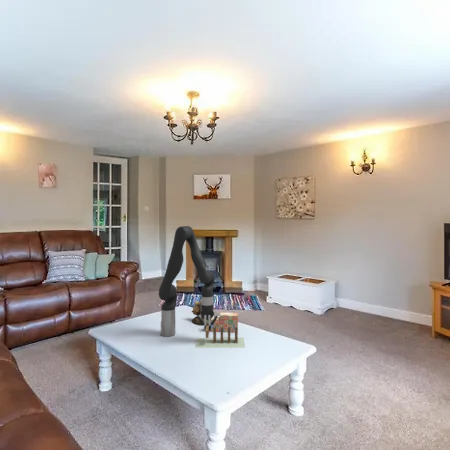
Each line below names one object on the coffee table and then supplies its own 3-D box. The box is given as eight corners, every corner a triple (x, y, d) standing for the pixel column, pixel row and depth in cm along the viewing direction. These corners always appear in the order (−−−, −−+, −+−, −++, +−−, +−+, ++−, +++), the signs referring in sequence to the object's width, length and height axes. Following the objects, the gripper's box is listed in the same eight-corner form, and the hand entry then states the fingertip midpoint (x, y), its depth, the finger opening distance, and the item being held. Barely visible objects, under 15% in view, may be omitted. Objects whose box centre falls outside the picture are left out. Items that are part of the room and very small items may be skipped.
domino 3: (220, 343, 201) (220, 327, 201) (220, 340, 206) (220, 324, 206) (223, 343, 201) (223, 327, 201) (223, 340, 206) (223, 324, 206)
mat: (195, 348, 195) (195, 347, 195) (197, 338, 211) (197, 337, 211) (245, 348, 195) (245, 347, 195) (243, 338, 211) (243, 337, 211)
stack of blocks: (206, 332, 221) (206, 314, 221) (207, 329, 228) (207, 312, 227) (237, 333, 219) (237, 315, 219) (238, 330, 225) (238, 312, 225)
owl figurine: (187, 322, 244) (186, 299, 244) (198, 318, 253) (197, 296, 253) (204, 327, 232) (204, 303, 232) (215, 322, 242) (215, 300, 241)
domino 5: (235, 343, 201) (235, 327, 201) (234, 340, 206) (234, 324, 206) (237, 343, 201) (237, 327, 201) (237, 340, 206) (237, 324, 206)
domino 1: (205, 330, 197) (206, 321, 206) (205, 337, 198) (206, 328, 208) (208, 330, 197) (209, 321, 206) (208, 337, 198) (209, 328, 208)
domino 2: (213, 343, 201) (213, 327, 201) (213, 340, 206) (213, 324, 206) (215, 343, 201) (215, 327, 201) (216, 340, 206) (216, 324, 206)
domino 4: (227, 343, 201) (227, 327, 201) (227, 340, 206) (227, 324, 206) (230, 343, 201) (230, 327, 201) (230, 340, 206) (230, 324, 206)
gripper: (195, 305, 199) (196, 333, 200) (218, 304, 199) (218, 333, 200) (197, 302, 207) (197, 329, 207) (218, 301, 207) (218, 328, 207)
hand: (207, 330), depth 203 cm, fingers closed on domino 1, 1 cm apart
